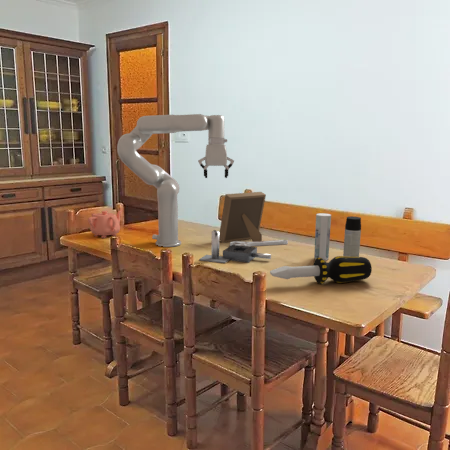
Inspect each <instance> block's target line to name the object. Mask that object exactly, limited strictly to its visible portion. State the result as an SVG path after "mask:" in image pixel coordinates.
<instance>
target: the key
mask: <svg viewBox="0 0 450 450" xmlns="http://www.w3.org/2000/svg"><path fill="white" fill-rule="evenodd" d="M219 233H220V230H215V229H214V230H212V231H211V255H212V257H211V258H212V259H219V256H220V240H219Z"/></svg>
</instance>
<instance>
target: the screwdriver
mask: <svg viewBox="0 0 450 450" xmlns="http://www.w3.org/2000/svg"><path fill="white" fill-rule="evenodd" d="M372 271H373V269H372V263H371V261H370V260H369V259H368V258H367V257H364V256H359V257H350V256H343V255H337V256H334V257H333V258H331V260H330V261H328V262H327V260H323V259H322V258H320V257H318V258H316V259H315V258H314V261H313V264H312V265H302V266H288V265H283V266H279V267H277V268H275V269H272V270H271V269H270V271H269V274H270V276H272V277H274V278H276V277H277V278H280V279H284V280H290V279H292V278H293V279H294V278H295V279H296V278H310V277H314V281H316V283H317V284H319V285H322V284H324V283H326V282H327V280H328V279H330V280H332V281H333V282H335V283H338V284H342V283H348V282H349V283H350V282H356V281H363V280H366V279H369V278H370V276H371V274H372Z"/></svg>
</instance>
